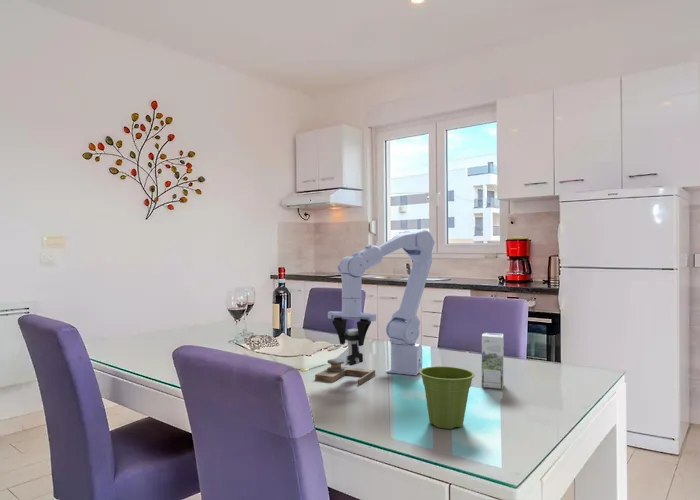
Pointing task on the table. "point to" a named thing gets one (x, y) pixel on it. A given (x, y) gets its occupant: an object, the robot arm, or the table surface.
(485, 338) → the syrup box
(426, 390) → the plant pot
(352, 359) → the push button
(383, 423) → the table surface
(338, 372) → the notched board
